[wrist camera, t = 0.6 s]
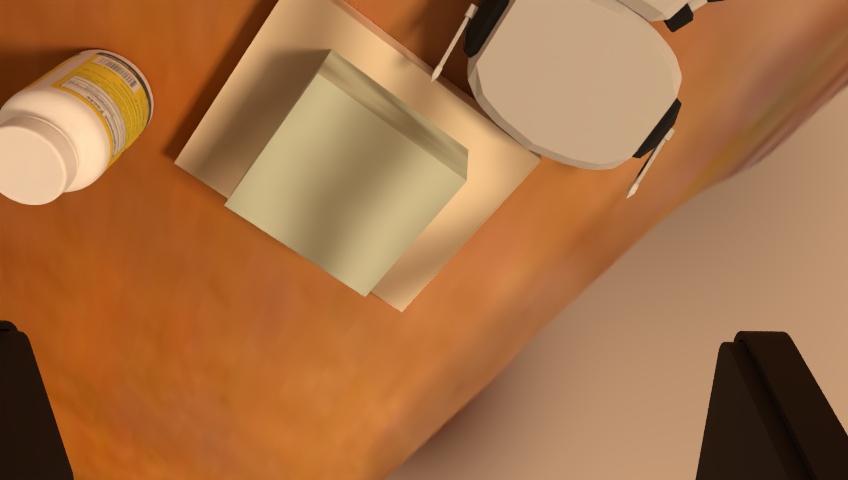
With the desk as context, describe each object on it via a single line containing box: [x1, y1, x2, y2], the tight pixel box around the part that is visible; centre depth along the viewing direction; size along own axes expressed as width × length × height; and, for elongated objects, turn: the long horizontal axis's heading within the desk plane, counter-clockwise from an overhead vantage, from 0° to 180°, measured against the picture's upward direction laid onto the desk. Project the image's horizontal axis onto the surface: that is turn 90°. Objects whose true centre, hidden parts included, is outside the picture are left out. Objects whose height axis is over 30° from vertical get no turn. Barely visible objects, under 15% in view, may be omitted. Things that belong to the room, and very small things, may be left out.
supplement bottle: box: [0, 50, 153, 205], centre depth 40 cm, size 5×5×10 cm
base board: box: [174, 0, 541, 312], centre depth 43 cm, size 16×13×6 cm
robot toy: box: [431, 0, 723, 199], centre depth 39 cm, size 12×4×15 cm
